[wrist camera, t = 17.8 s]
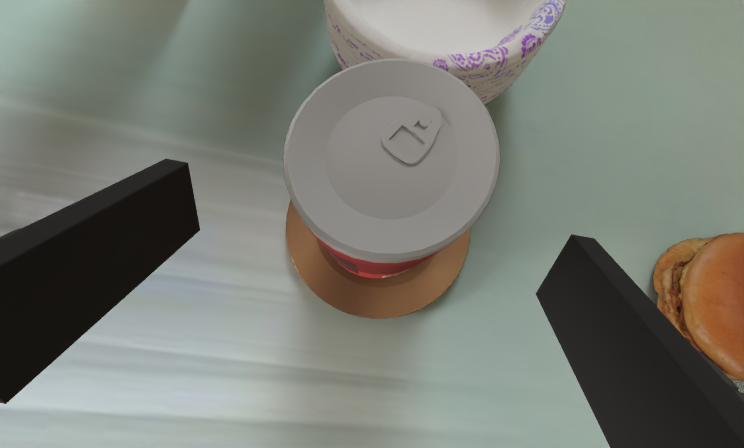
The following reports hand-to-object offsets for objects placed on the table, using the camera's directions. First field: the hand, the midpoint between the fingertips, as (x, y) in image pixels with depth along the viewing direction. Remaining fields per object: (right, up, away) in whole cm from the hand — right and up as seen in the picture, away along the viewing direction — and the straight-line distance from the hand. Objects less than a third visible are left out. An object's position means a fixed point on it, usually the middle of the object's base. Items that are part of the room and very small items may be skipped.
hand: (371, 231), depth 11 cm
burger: (+24, -5, +11) cm, 27 cm away
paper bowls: (+4, +14, +15) cm, 21 cm away
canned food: (+1, 0, +11) cm, 11 cm away
